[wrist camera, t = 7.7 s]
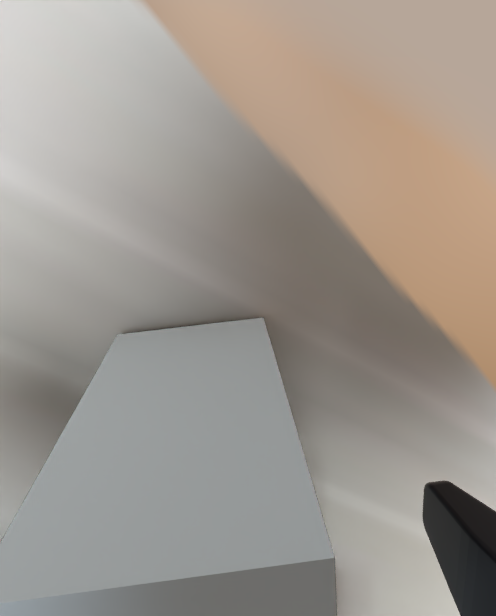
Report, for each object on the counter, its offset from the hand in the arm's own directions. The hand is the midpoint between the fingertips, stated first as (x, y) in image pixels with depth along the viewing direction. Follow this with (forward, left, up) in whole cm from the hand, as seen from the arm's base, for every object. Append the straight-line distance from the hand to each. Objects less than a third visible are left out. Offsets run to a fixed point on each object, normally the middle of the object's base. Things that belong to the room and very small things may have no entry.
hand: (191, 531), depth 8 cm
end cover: (-3, 0, -6) cm, 7 cm away
